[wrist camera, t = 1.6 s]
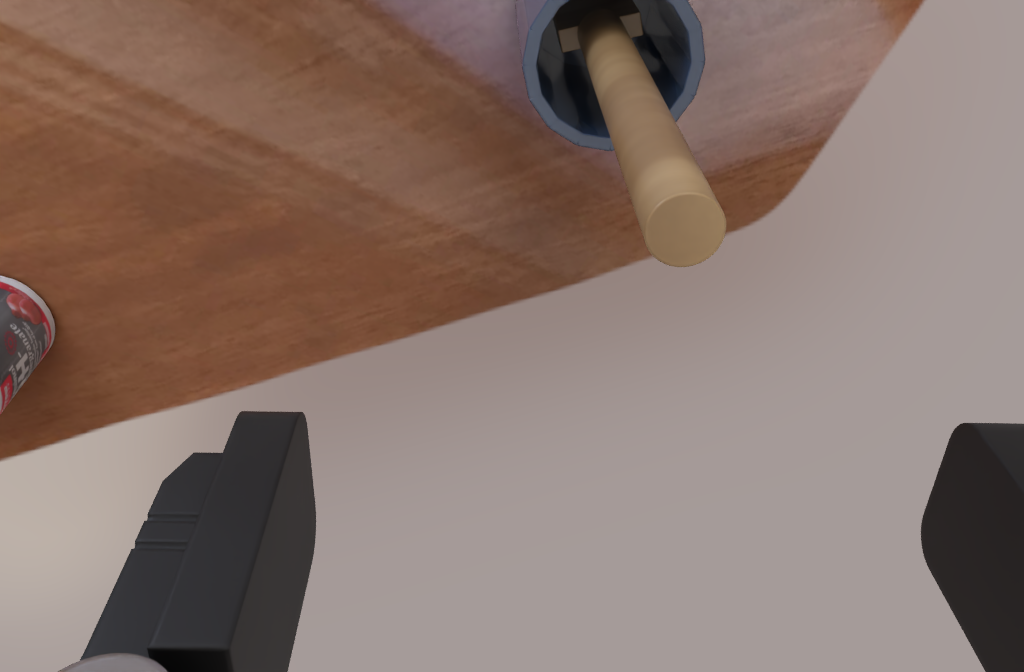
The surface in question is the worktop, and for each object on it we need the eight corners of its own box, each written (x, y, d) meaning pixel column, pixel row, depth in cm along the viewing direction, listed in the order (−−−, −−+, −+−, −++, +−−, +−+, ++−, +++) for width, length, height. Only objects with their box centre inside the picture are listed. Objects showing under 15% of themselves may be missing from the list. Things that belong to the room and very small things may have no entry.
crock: (648, -91, 39) (694, -52, 30) (667, 56, 42) (712, 130, 33) (502, -57, 39) (506, -9, 31) (531, 86, 42) (542, 166, 34)
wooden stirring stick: (622, -26, 39) (756, 178, 20) (628, 17, 40) (761, 253, 21) (548, -9, 40) (606, 208, 20) (556, 33, 41) (618, 281, 21)
